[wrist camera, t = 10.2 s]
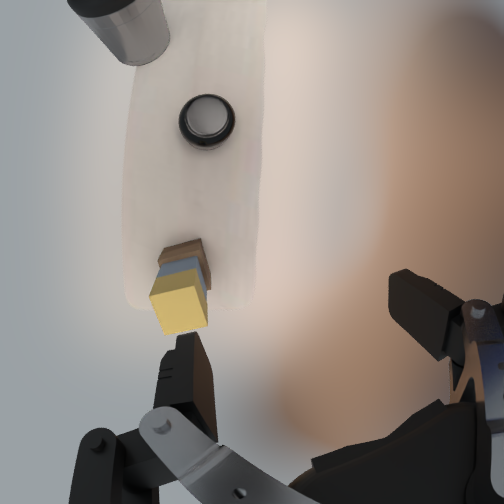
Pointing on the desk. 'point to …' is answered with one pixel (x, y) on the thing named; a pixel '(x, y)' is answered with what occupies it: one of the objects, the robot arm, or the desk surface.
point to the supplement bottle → (206, 121)
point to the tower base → (185, 252)
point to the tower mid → (183, 269)
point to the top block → (179, 302)
